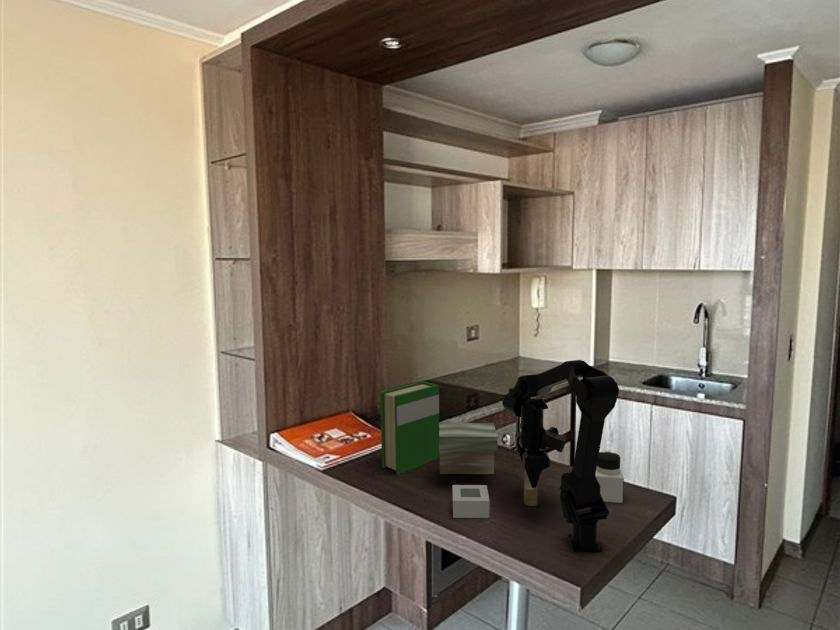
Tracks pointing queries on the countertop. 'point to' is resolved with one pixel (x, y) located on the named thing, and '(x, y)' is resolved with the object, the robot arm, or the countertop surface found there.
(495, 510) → the countertop surface
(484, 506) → the socket block
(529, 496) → the peg
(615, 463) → the medicine bottle
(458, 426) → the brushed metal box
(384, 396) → the hardback book
